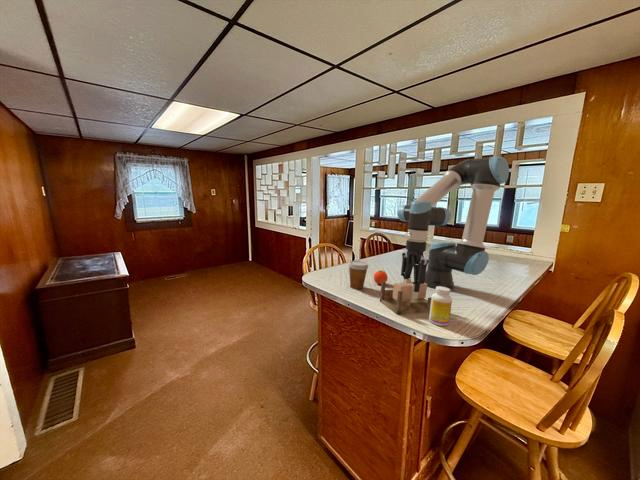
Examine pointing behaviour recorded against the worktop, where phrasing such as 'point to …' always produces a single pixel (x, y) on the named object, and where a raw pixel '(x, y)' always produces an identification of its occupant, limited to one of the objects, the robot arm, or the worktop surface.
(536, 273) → the worktop surface
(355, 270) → the disposable coffee cup
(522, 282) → the worktop surface
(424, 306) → the rack
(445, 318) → the supplement bottle
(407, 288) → the pinkish tan block
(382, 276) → the clementine
